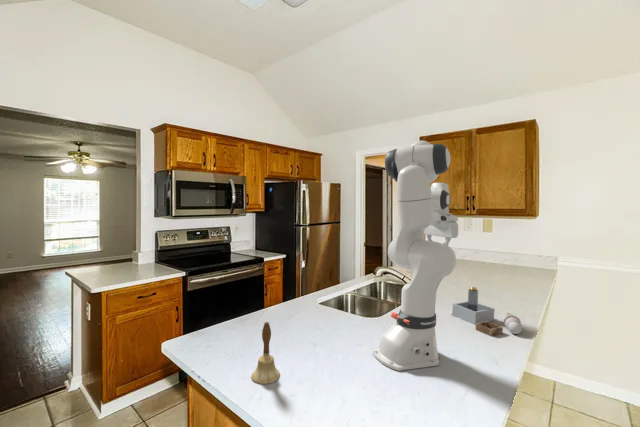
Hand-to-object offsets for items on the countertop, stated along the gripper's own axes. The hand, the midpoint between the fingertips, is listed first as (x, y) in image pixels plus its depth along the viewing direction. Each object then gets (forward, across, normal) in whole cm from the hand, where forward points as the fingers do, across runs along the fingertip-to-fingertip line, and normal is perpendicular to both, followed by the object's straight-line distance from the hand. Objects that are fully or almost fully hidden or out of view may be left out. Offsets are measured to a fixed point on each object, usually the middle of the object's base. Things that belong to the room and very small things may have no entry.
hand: (437, 245), depth 150 cm
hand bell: (+31, +23, -91) cm, 99 cm away
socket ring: (+31, +28, 0) cm, 42 cm away
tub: (+31, +15, +7) cm, 35 cm away
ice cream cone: (+31, +30, +11) cm, 45 cm away
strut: (+30, +15, +7) cm, 35 cm away
